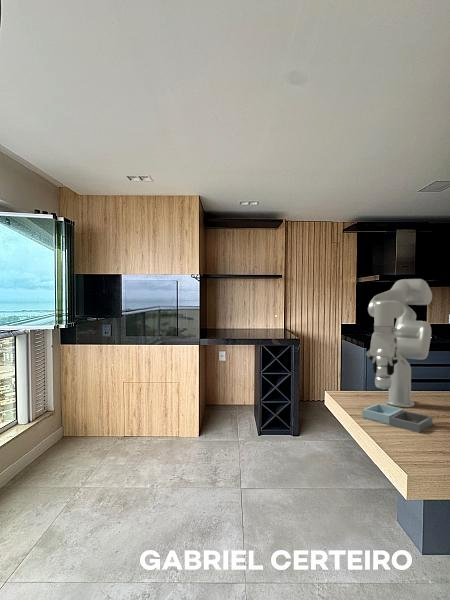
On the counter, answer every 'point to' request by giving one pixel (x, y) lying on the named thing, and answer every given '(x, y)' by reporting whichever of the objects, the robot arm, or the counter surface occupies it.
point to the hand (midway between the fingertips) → (383, 373)
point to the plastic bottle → (382, 370)
